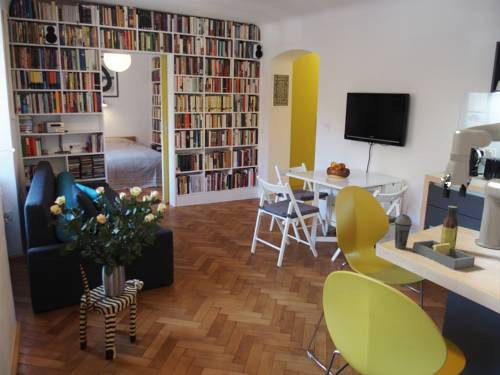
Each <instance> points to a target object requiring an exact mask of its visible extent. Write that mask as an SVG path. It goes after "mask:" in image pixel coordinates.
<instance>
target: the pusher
mask: <svg viewBox="0 0 500 375" xmlns="http://www.w3.org/2000/svg"><path fill="white" fill-rule="evenodd" d="M450 247H451V244H450V243H445V244H438V245H433V246H432V248H433V250H435V251H437V252H440V253H442V254H444V255H449V254H450Z"/></svg>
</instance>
